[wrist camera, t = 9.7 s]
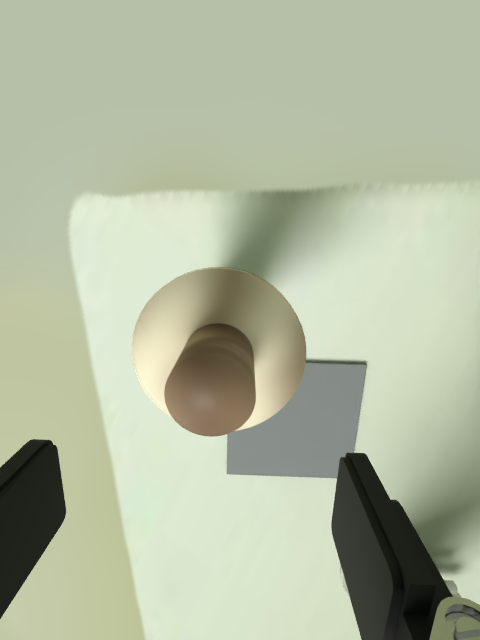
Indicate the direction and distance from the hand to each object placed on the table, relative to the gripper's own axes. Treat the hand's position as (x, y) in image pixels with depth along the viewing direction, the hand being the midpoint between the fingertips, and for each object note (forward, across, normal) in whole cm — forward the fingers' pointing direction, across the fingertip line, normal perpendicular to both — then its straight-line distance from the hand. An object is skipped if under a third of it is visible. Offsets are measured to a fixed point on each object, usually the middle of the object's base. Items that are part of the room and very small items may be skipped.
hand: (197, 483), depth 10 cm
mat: (+26, -8, +14) cm, 31 cm away
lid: (+11, 0, 0) cm, 11 cm away
